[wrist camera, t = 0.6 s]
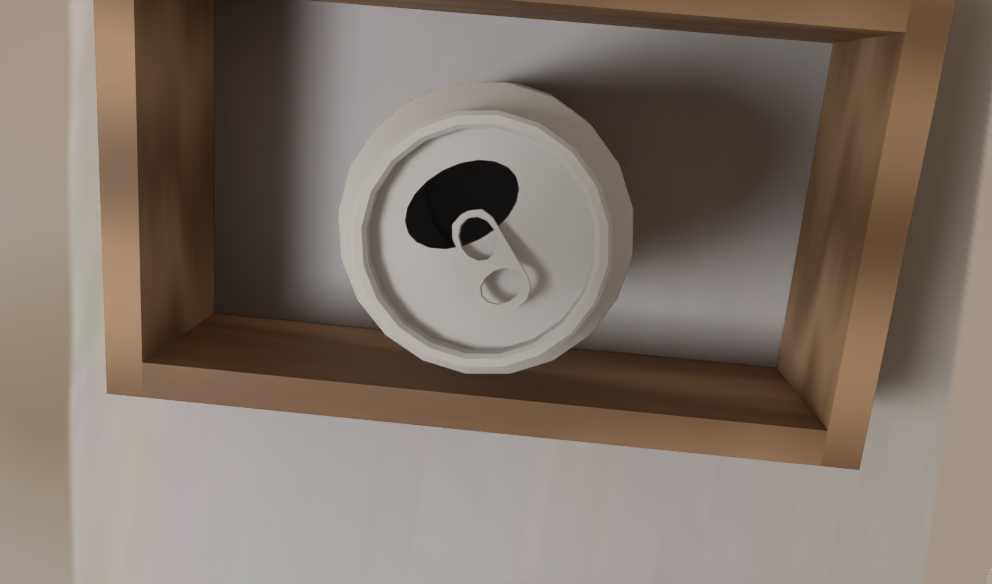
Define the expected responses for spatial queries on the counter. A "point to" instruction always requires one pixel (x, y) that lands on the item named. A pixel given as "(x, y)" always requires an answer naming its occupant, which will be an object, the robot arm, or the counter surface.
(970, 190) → the counter surface
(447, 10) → the box frame
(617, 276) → the can
